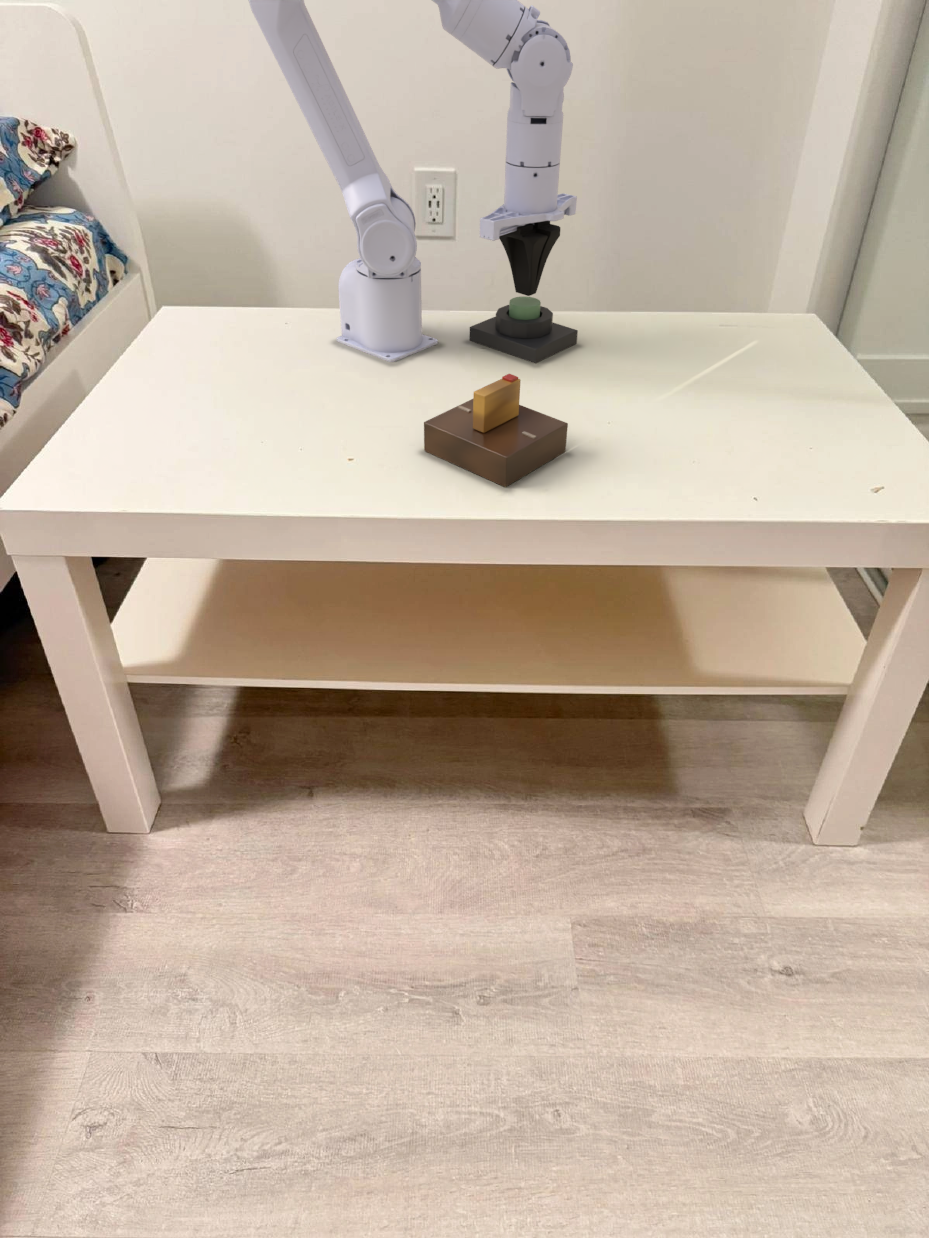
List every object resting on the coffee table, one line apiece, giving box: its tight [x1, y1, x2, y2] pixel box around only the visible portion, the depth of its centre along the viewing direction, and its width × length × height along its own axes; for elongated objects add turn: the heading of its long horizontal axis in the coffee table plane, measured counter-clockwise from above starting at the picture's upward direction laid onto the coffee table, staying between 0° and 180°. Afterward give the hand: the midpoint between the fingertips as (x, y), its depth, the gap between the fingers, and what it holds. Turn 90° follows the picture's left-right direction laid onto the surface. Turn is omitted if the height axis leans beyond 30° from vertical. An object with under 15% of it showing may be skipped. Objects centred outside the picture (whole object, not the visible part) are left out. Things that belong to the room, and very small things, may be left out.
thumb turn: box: [472, 373, 521, 433], centre depth 80 cm, size 5×1×4 cm, turn 138°
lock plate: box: [423, 398, 569, 488], centre depth 82 cm, size 10×9×3 cm
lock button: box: [508, 295, 542, 320], centre depth 102 cm, size 4×4×2 cm
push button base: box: [468, 304, 579, 364], centre depth 103 cm, size 10×8×4 cm
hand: (525, 292), depth 101 cm, fingers closed
